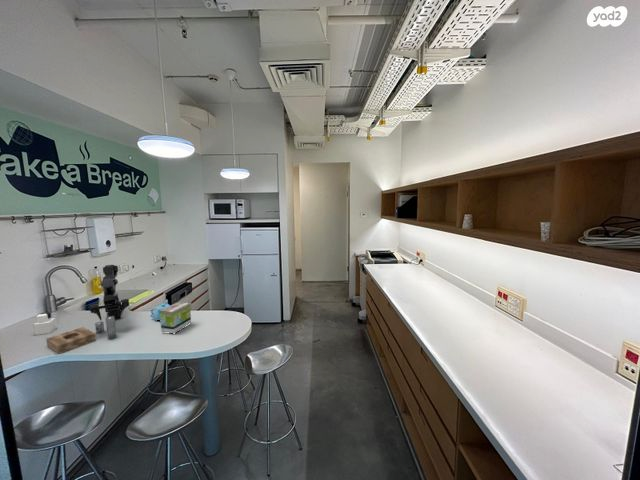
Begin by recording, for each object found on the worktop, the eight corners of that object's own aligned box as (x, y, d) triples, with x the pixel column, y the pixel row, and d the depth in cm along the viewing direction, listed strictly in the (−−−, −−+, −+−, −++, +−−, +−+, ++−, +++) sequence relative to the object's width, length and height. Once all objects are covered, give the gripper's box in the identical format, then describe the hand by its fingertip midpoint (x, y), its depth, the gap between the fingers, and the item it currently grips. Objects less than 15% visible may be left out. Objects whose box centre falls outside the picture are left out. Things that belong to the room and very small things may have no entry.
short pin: (102, 330, 164) (101, 321, 163) (105, 331, 162) (104, 322, 161) (94, 332, 160) (93, 323, 159) (97, 334, 158) (96, 325, 157)
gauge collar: (83, 333, 158) (82, 327, 158) (95, 340, 151) (95, 333, 150) (47, 346, 145) (46, 338, 144) (58, 354, 137) (57, 346, 136)
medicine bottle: (42, 330, 163) (39, 312, 162) (56, 328, 166) (54, 310, 164) (34, 335, 157) (31, 316, 155) (50, 333, 159) (47, 314, 157)
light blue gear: (147, 319, 179) (146, 305, 178) (169, 311, 192) (168, 298, 190) (159, 324, 172) (157, 309, 170) (181, 316, 184) (180, 302, 183)
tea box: (175, 335, 158) (173, 311, 156) (160, 333, 160) (159, 310, 158) (191, 324, 172) (190, 302, 170) (178, 322, 174) (177, 301, 172)
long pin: (114, 335, 156) (112, 315, 155) (117, 337, 155) (115, 316, 153) (106, 338, 153) (104, 317, 151) (109, 340, 151) (107, 319, 149)
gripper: (88, 292, 152) (87, 316, 145) (127, 286, 163) (129, 308, 156) (91, 301, 160) (91, 324, 152) (128, 295, 171) (130, 316, 163)
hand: (110, 318), depth 156 cm, fingers open, 9 cm apart
